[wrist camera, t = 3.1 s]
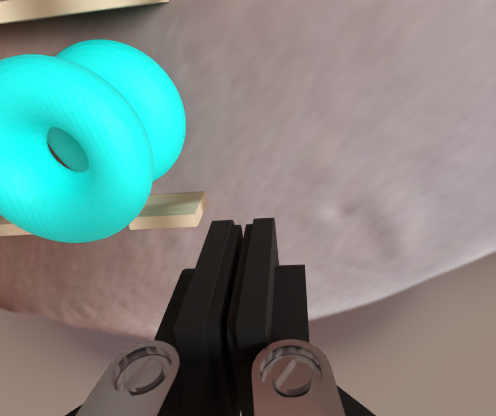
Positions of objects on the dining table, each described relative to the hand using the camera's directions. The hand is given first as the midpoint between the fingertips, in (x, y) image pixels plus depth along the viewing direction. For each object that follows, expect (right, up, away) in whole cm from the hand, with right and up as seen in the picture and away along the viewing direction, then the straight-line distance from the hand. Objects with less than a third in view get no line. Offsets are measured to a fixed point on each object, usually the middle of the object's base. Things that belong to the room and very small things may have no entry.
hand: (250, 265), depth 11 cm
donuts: (-9, +8, +17) cm, 21 cm away
